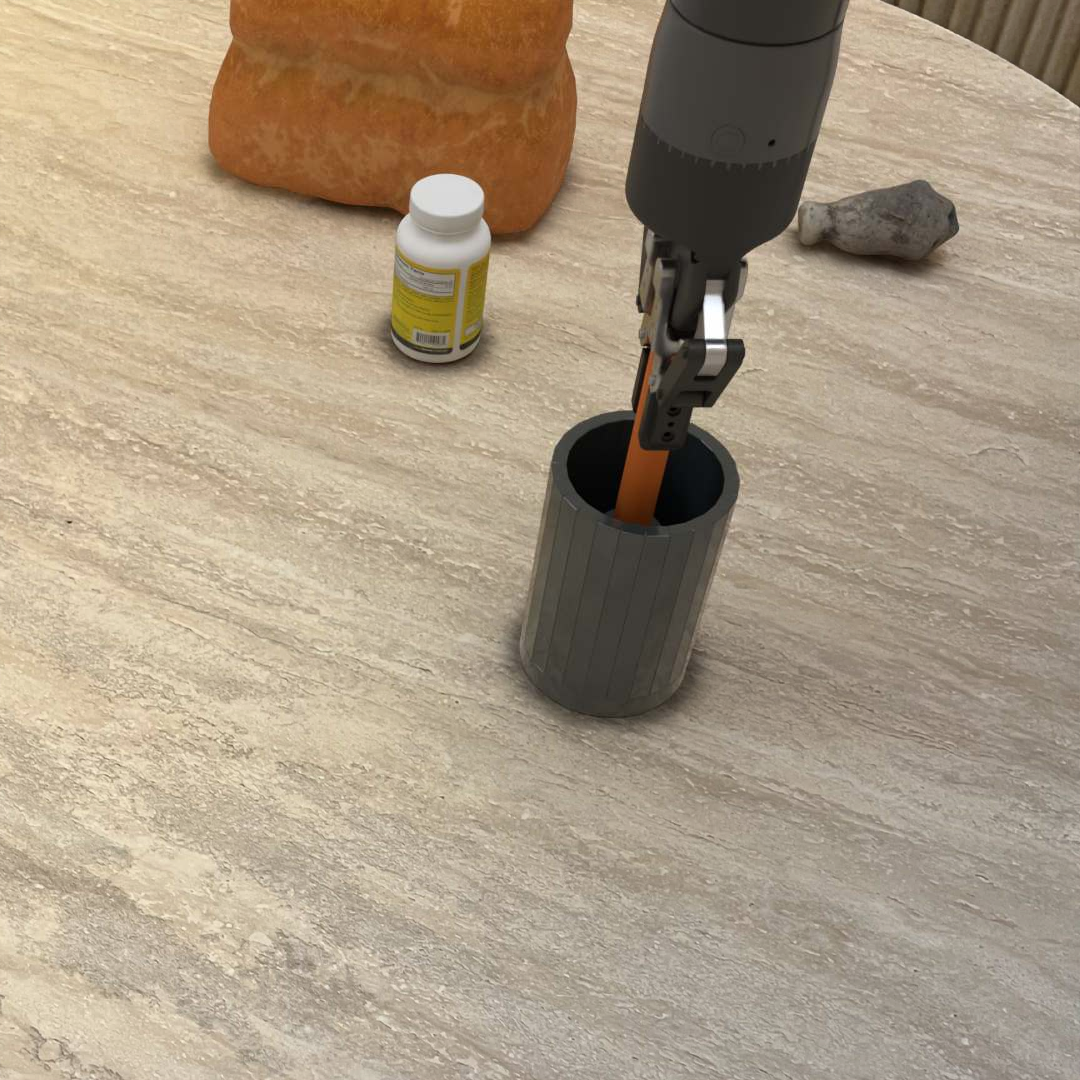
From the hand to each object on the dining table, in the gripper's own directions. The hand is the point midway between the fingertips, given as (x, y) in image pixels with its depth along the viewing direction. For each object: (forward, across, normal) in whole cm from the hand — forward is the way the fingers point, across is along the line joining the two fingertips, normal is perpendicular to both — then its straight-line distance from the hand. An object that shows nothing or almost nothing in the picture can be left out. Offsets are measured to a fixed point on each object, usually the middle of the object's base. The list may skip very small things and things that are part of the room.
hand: (655, 427), depth 85 cm
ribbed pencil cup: (+17, 0, 0) cm, 17 cm away
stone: (+17, +39, -24) cm, 49 cm away
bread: (+17, +50, +10) cm, 54 cm away
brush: (+15, 0, 0) cm, 15 cm away
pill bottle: (+17, +29, +8) cm, 35 cm away
